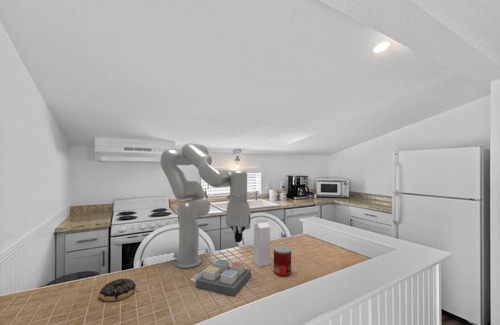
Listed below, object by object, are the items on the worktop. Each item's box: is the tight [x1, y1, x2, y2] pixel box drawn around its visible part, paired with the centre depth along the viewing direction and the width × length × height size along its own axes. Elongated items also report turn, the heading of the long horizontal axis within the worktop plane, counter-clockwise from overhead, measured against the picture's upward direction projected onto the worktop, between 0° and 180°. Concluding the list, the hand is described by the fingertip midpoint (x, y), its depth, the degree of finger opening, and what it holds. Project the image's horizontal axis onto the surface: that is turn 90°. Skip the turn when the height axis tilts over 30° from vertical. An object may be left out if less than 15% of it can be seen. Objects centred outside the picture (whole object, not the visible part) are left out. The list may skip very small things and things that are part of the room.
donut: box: [98, 278, 137, 302], centre depth 85 cm, size 11×12×4 cm
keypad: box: [195, 265, 252, 298], centre depth 95 cm, size 17×17×3 cm
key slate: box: [221, 269, 238, 285], centre depth 90 cm, size 5×5×4 cm
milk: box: [253, 219, 271, 268], centre depth 114 cm, size 6×6×22 cm
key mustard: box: [202, 265, 220, 281], centre depth 93 cm, size 5×5×4 cm
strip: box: [189, 268, 206, 283], centre depth 100 cm, size 4×11×1 cm, turn 158°
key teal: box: [212, 258, 230, 273], centre depth 101 cm, size 5×5×4 cm
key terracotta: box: [229, 261, 246, 276], centre depth 98 cm, size 5×5×4 cm
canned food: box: [273, 245, 292, 277], centre depth 104 cm, size 8×8×11 cm
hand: (238, 241), depth 98 cm, fingers closed
